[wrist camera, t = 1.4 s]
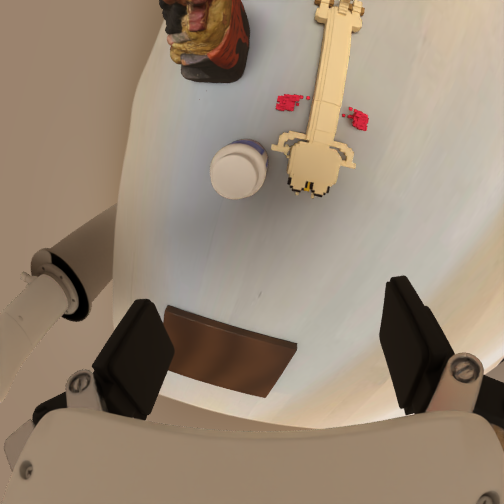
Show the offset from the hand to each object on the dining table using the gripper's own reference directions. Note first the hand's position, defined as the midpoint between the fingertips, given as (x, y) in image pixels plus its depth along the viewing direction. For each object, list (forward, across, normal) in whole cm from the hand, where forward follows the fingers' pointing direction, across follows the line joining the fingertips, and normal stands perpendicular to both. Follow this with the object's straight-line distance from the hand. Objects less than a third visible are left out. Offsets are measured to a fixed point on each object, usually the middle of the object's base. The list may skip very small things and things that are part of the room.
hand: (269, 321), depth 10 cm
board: (+24, +14, +29) cm, 40 cm away
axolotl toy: (+25, -7, -10) cm, 28 cm away
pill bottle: (+25, +3, -3) cm, 25 cm away
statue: (+25, +4, -17) cm, 30 cm away
